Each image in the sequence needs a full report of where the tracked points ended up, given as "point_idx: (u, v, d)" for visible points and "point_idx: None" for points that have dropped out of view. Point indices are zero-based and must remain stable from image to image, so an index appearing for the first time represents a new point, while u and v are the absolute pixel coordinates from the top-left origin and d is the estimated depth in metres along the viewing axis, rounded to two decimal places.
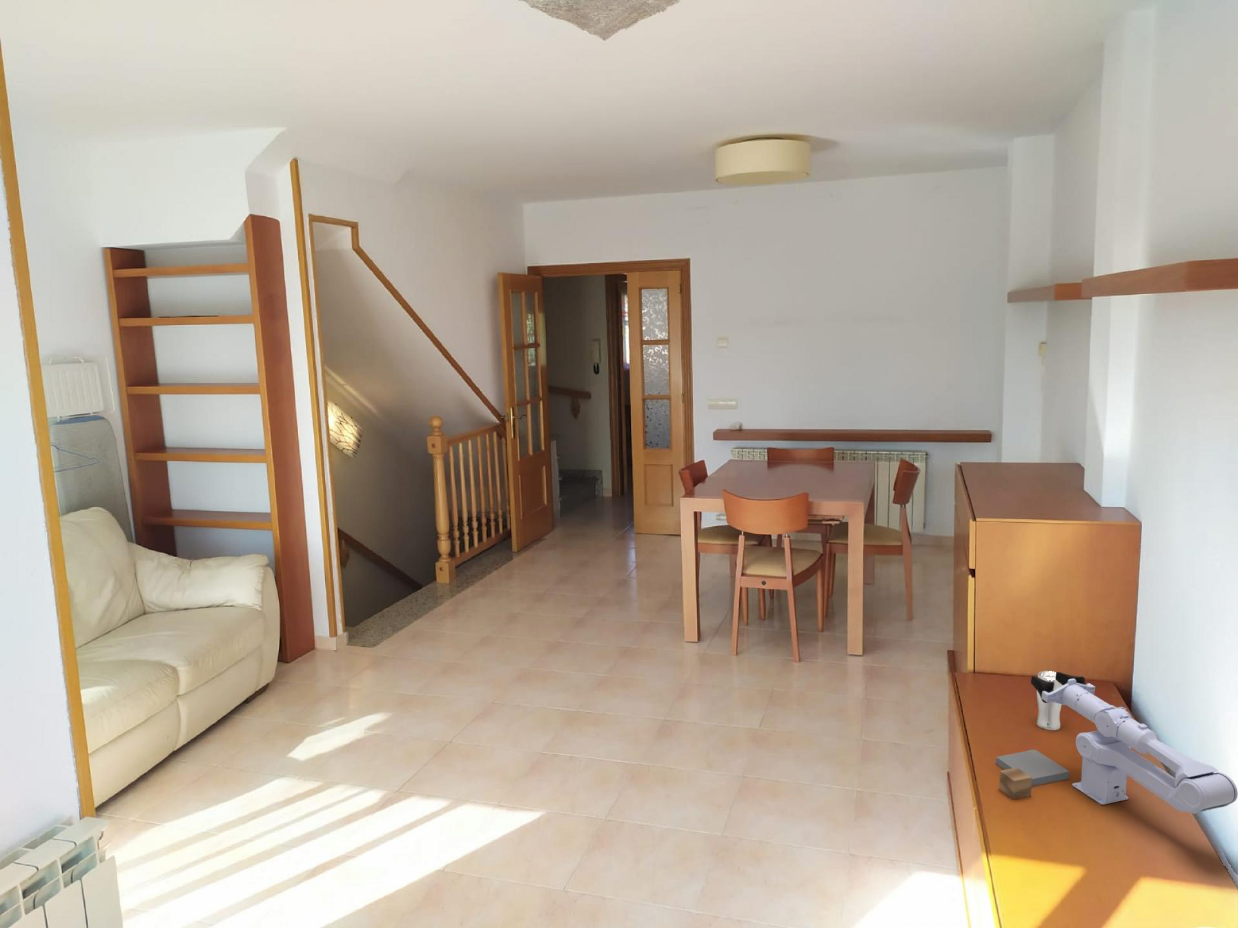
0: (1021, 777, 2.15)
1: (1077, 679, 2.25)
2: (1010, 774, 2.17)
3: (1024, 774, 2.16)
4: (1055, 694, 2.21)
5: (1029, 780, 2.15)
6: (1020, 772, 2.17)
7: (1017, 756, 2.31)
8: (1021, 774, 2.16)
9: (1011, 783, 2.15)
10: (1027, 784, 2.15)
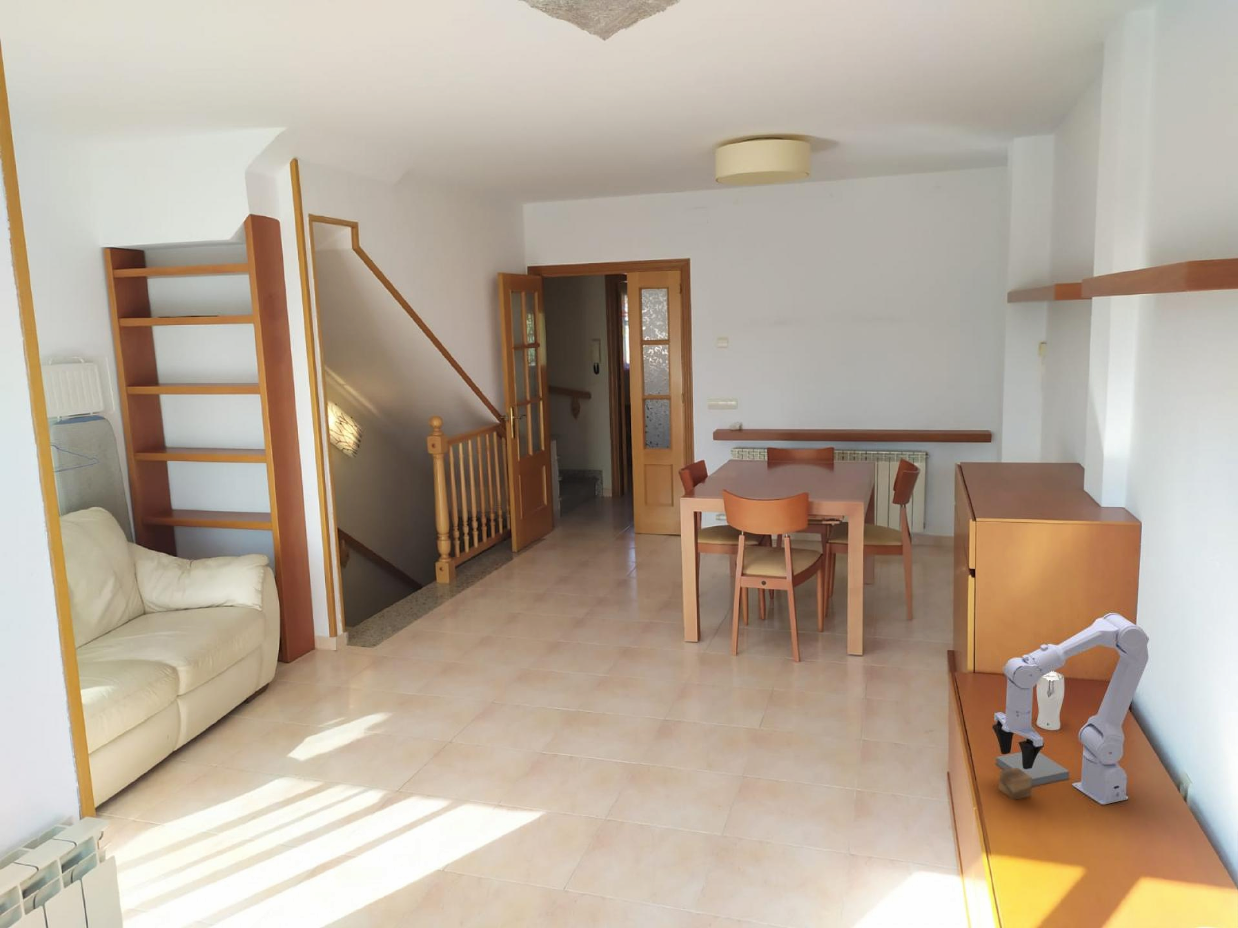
0: (1021, 777, 2.15)
1: (998, 729, 2.18)
2: (1010, 774, 2.17)
3: (1024, 774, 2.16)
4: (1029, 734, 2.10)
5: (1029, 780, 2.15)
6: (1020, 772, 2.17)
7: (1017, 756, 2.31)
8: (1021, 774, 2.16)
9: (1011, 783, 2.15)
10: (1027, 784, 2.15)
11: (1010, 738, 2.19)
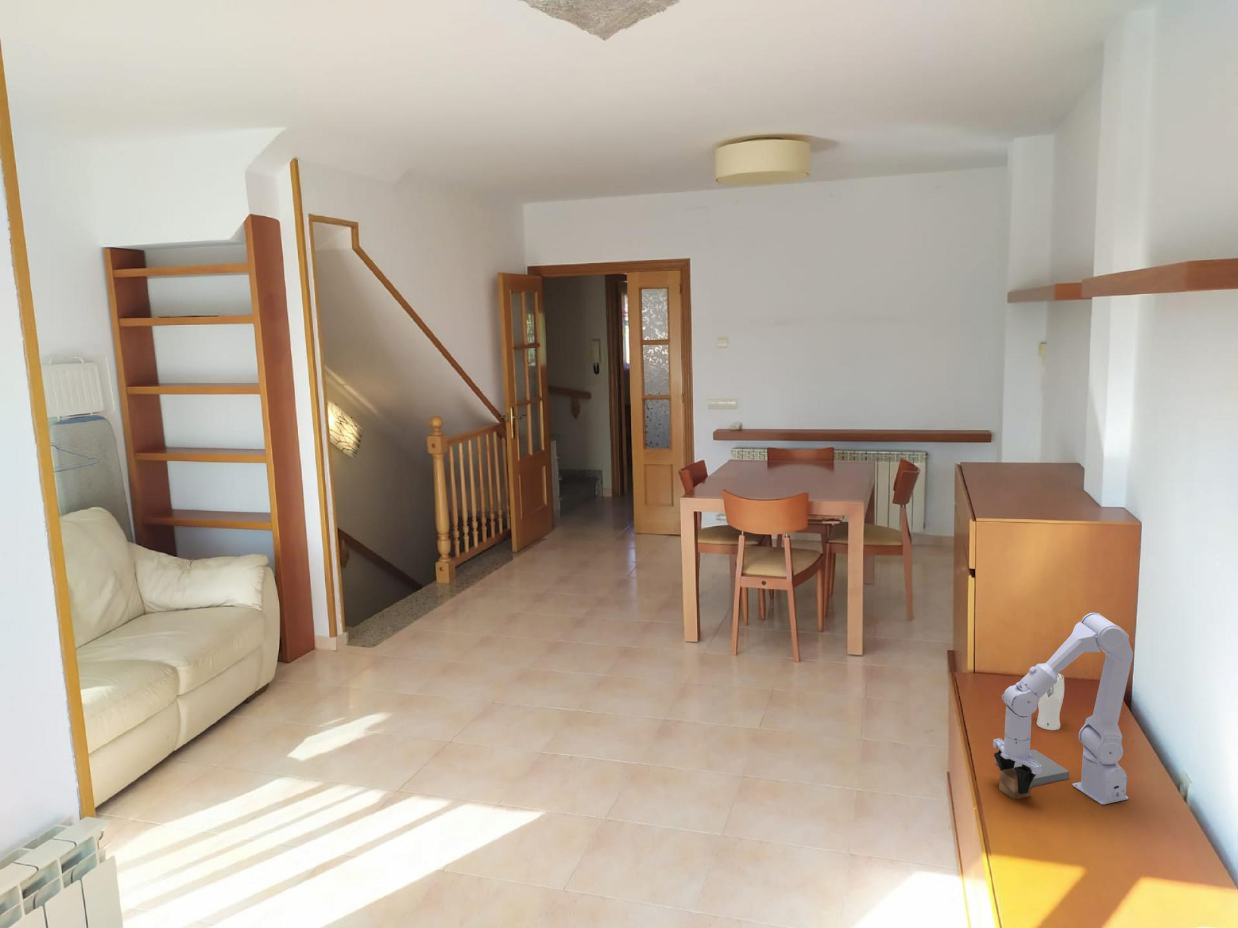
0: None
1: (1000, 757, 2.18)
2: (1010, 773, 2.17)
3: None
4: (1028, 762, 2.11)
5: None
6: None
7: None
8: None
9: (1011, 782, 2.15)
10: None
11: (1012, 766, 2.19)
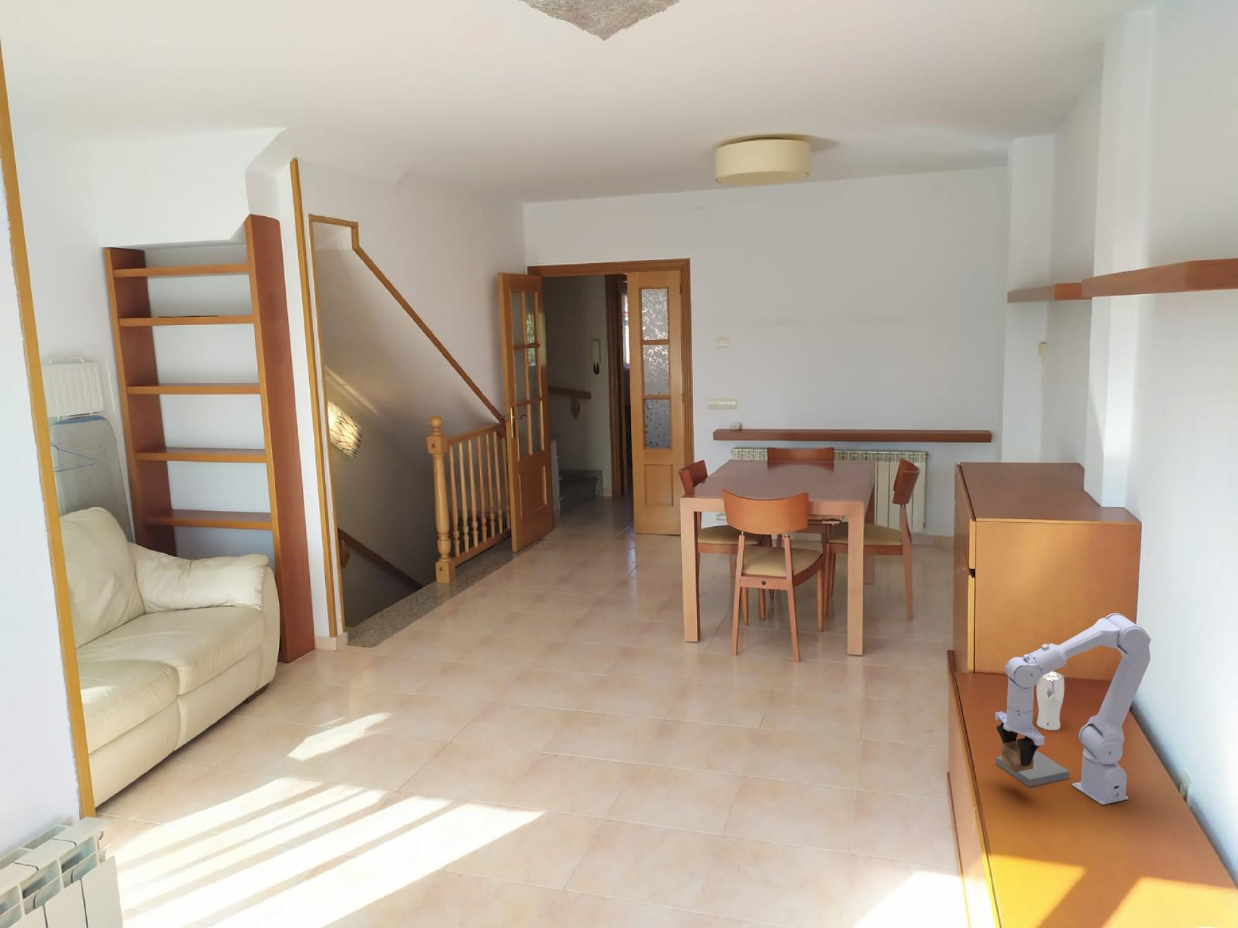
0: None
1: (1003, 730, 2.17)
2: (1013, 746, 2.16)
3: None
4: (1031, 733, 2.10)
5: None
6: None
7: None
8: None
9: (1013, 755, 2.14)
10: None
11: (1014, 739, 2.19)
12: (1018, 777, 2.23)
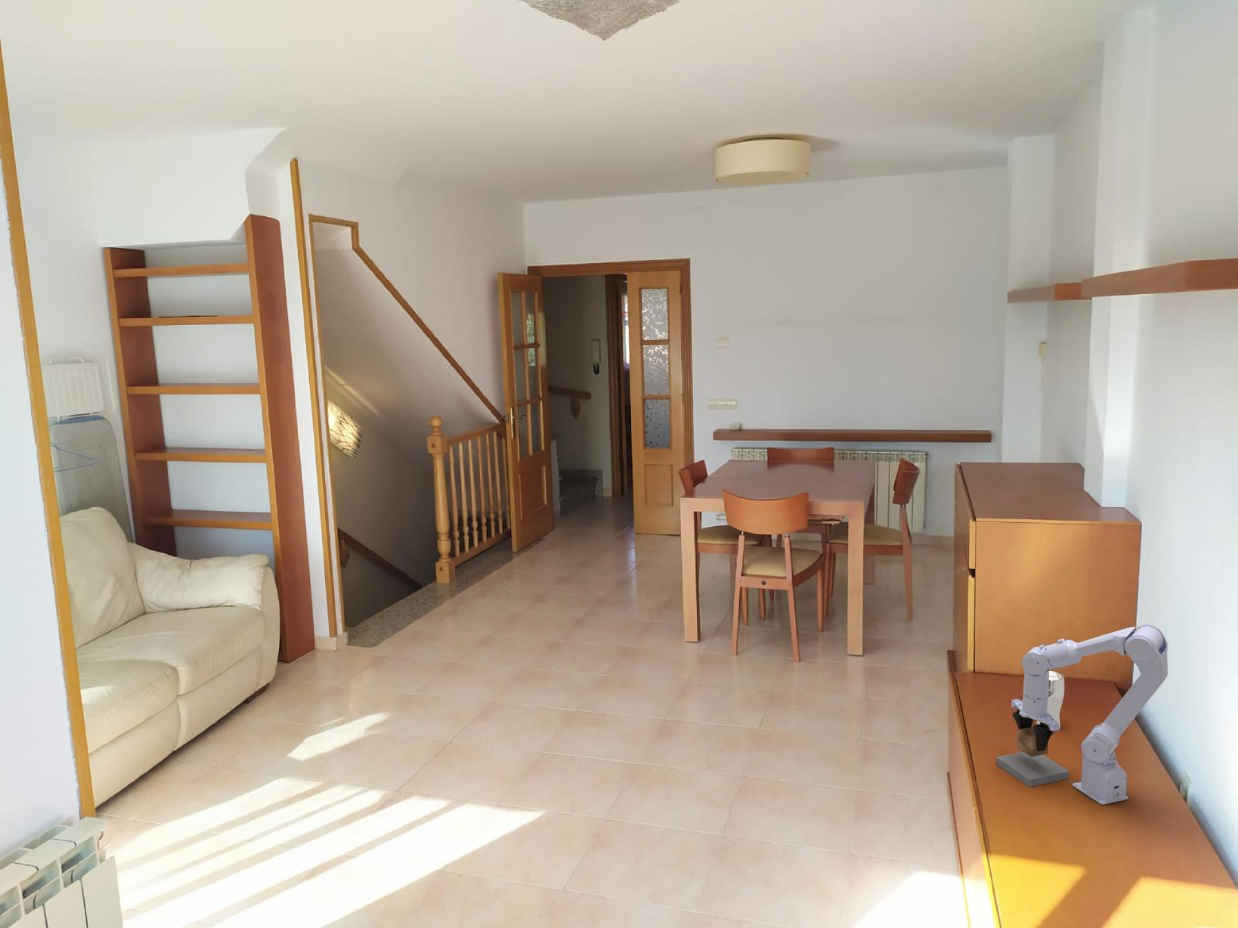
0: None
1: (1019, 716, 2.27)
2: (1028, 732, 2.25)
3: None
4: (1046, 720, 2.20)
5: None
6: None
7: (1017, 756, 2.31)
8: None
9: (1029, 740, 2.23)
10: None
11: (1029, 725, 2.28)
12: (1018, 777, 2.23)
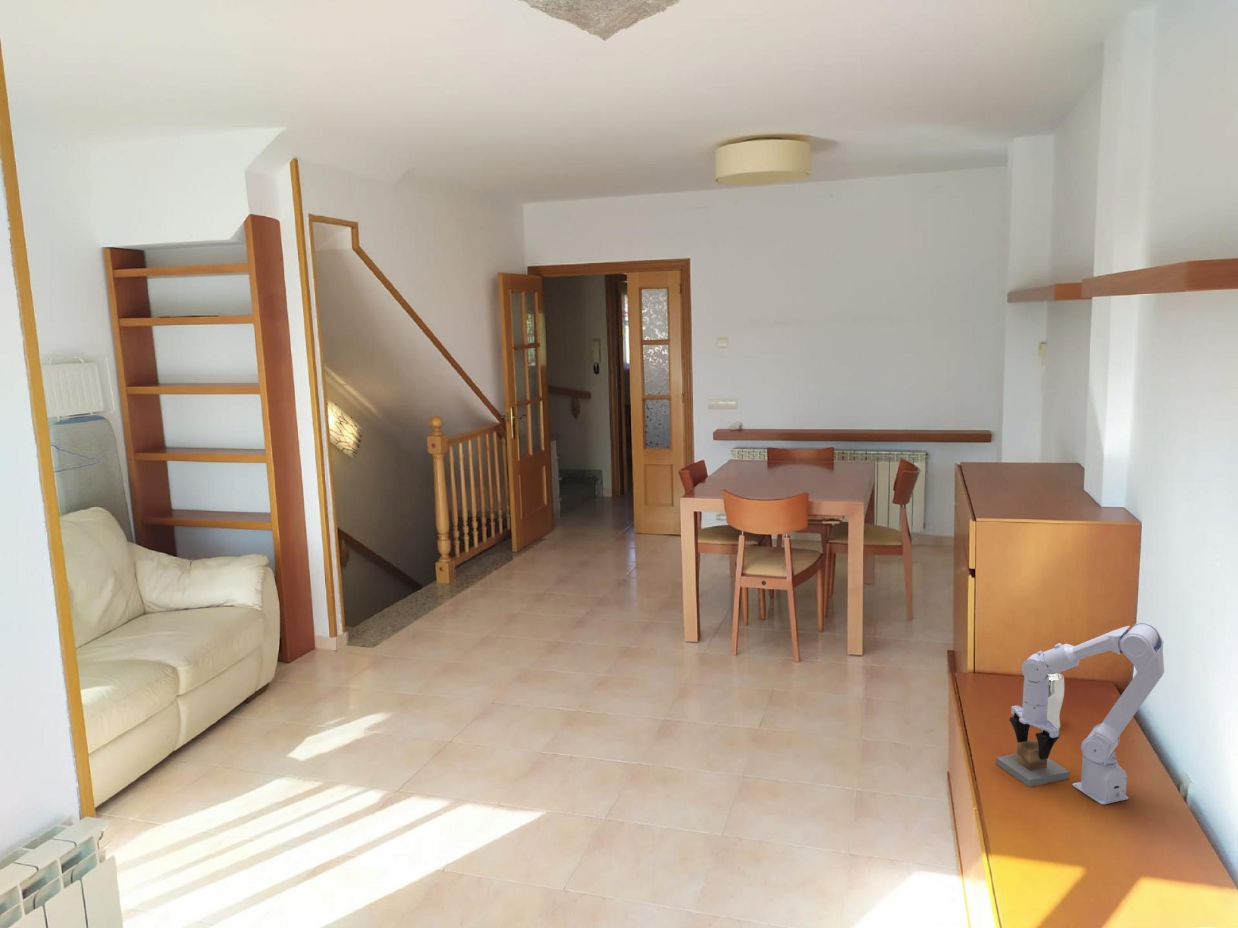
0: (1037, 748, 2.24)
1: (1015, 721, 2.28)
2: (1027, 745, 2.26)
3: None
4: (1046, 726, 2.20)
5: None
6: (1037, 744, 2.26)
7: None
8: (1038, 746, 2.26)
9: (1027, 754, 2.24)
10: None
11: (1026, 730, 2.29)
12: (1018, 777, 2.23)
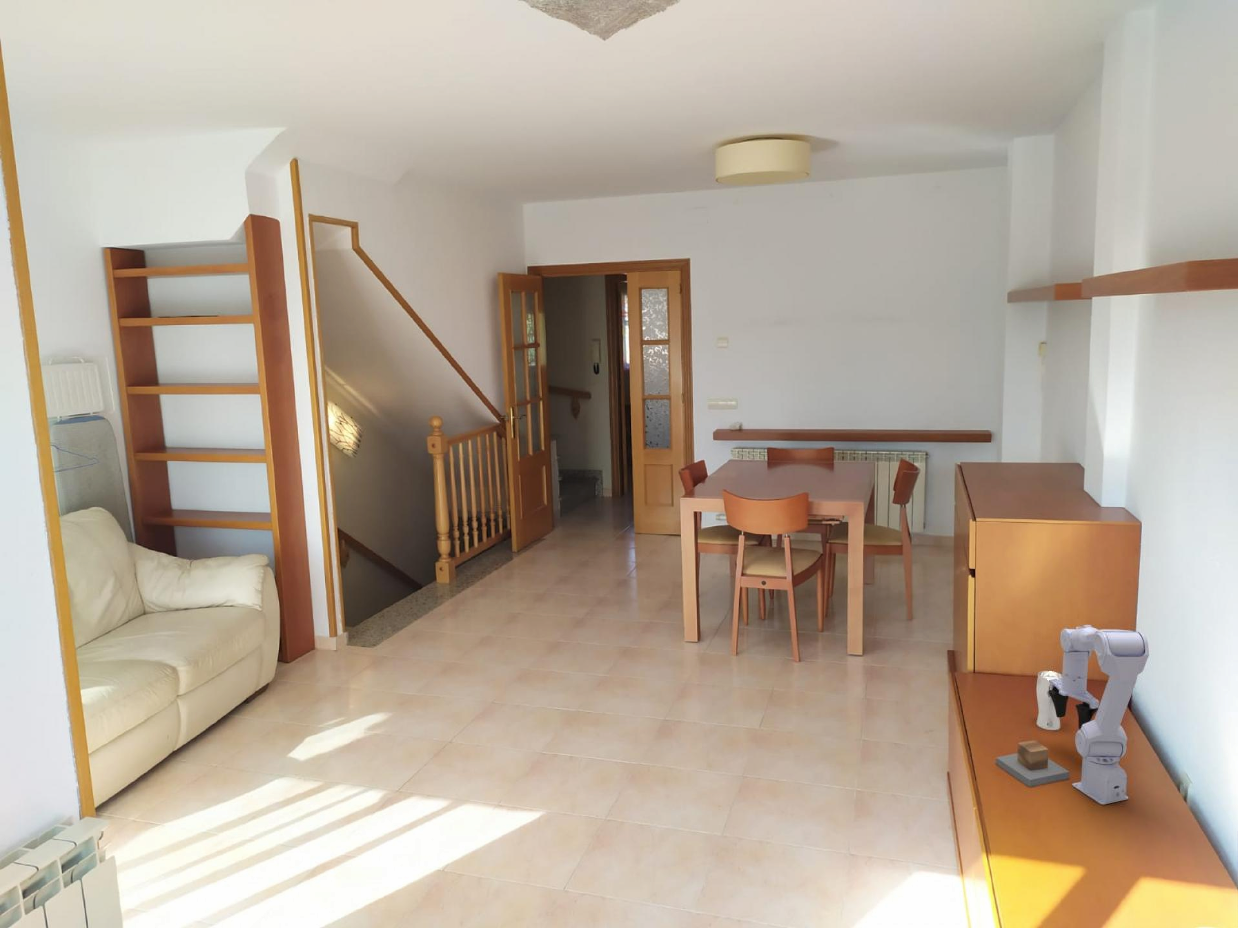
0: (1038, 748, 2.24)
1: (1055, 693, 2.34)
2: (1028, 746, 2.26)
3: (1042, 746, 2.25)
4: (1086, 698, 2.26)
5: (1046, 752, 2.24)
6: (1038, 745, 2.26)
7: (1017, 756, 2.31)
8: (1038, 746, 2.25)
9: (1028, 754, 2.24)
10: (1044, 756, 2.24)
11: (1065, 702, 2.35)
12: (1018, 777, 2.23)
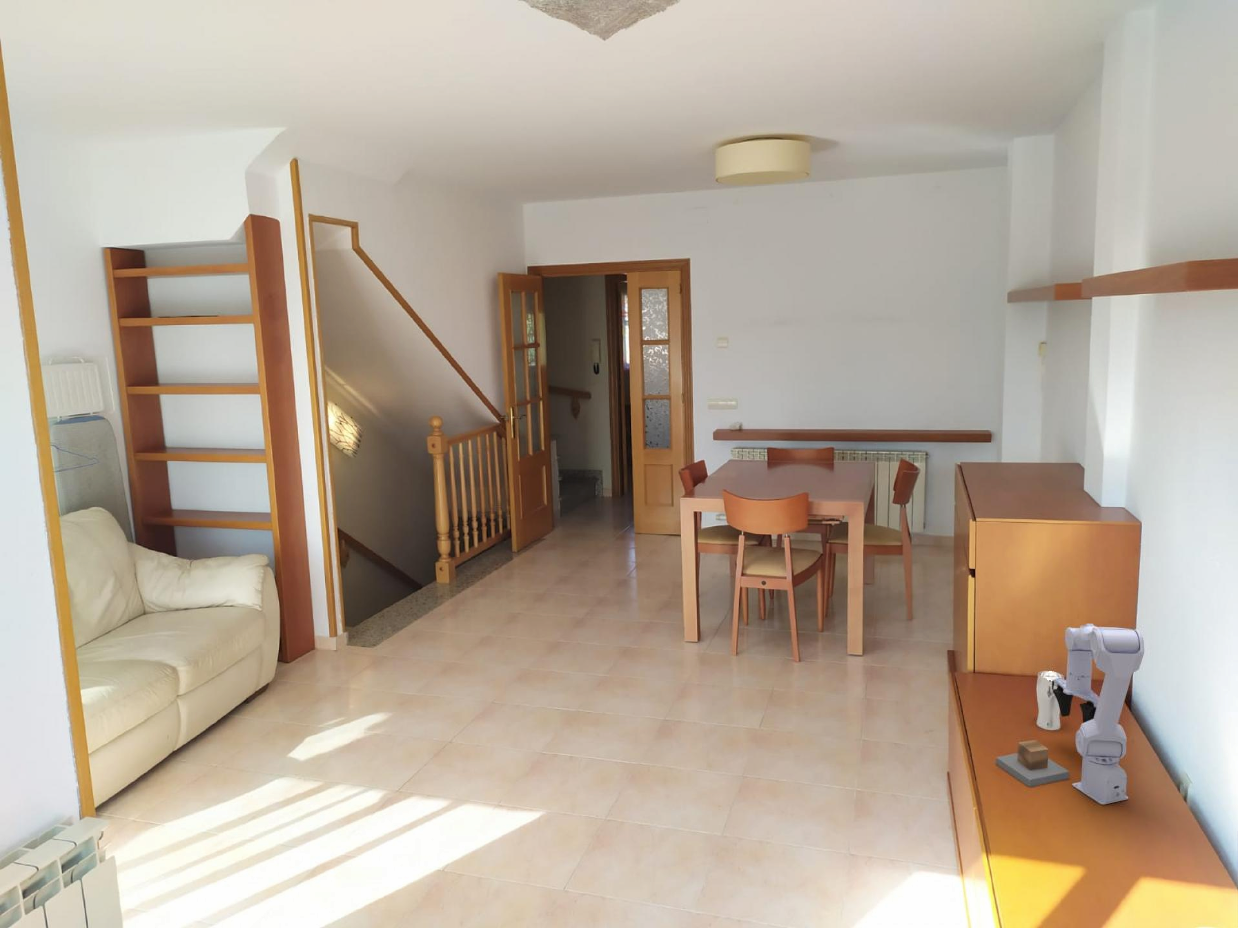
0: (1038, 748, 2.24)
1: (1059, 692, 2.34)
2: (1028, 745, 2.26)
3: (1042, 746, 2.25)
4: (1090, 697, 2.26)
5: (1046, 752, 2.24)
6: (1038, 744, 2.26)
7: (1017, 756, 2.31)
8: (1038, 746, 2.26)
9: (1028, 754, 2.24)
10: (1044, 755, 2.24)
11: (1069, 701, 2.36)
12: (1018, 777, 2.23)
